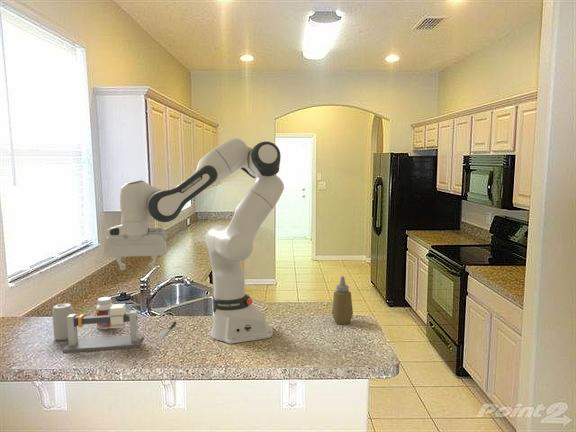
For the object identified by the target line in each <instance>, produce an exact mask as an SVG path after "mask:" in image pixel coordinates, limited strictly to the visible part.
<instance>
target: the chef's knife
mask: <svg viewBox="0 0 576 432" xmlns="http://www.w3.org/2000/svg"><path fill="white" fill-rule="evenodd" d="M176 324H177V322H176V321H173V322H172V323H171V325H170V326H169V327H168V328H164V329H162V331H161V332H160V333H159V335H158V336H157V341H158V342H161V340H163V339H164V337H165V336H167V334H168V333H170V332H171V330H172V329H173V328H174V326H175V325H176Z"/></svg>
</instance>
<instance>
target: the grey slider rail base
mask: <svg viewBox="0 0 576 432" xmlns="http://www.w3.org/2000/svg"><path fill="white" fill-rule="evenodd" d="M123 318H124V322H126V323H127V322H129V331H130V332H129V333H130V335H117V336H116V335H115V336H101V337H87V338H86V337H85V338H78V337H79V336H78V328H82V327H83V326H84V325H97V323H111V320H110V315H103V316H97V315H90V316H85V314H84V313H81V314H78V315H77V313H73V314H70V315H69V316H68V317H67V326H68V340H67V341H68V343H67V344H66V345H65V346H64V348H63V349H62V353H75V352H89V351H90V352H93V351H105V350H108V351H109V350H119V349H121V350H122V349H134V348H139V347H140V345H141V343H142V340H143V338H144V334H139V323H138V322H139V320H138V310H135V309H134V310H130V312H129V313H126V314H124V315H123Z"/></svg>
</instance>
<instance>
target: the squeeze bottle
mask: <svg viewBox="0 0 576 432" xmlns="http://www.w3.org/2000/svg"><path fill="white" fill-rule="evenodd" d="M345 279H346V278H345V276H344V275H343V276H342V275H341V276H340V280H339V284H337V285H336V290H335V291H334V292H333V300H332V310H331V315H332V318H333V319H334V320H333V321H334V323H335V324H337V325H349V324H350V323H351V321H352V318H353V314H354V311H353V301H352V300H353V299H352V293H351V291H350V290H349V288H350V287H349V285H347V283H346V280H345Z"/></svg>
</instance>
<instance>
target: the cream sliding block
mask: <svg viewBox="0 0 576 432" xmlns="http://www.w3.org/2000/svg"><path fill="white" fill-rule="evenodd" d="M112 304H113V305H112V307H111V308H110V320H111V328H110V329H119V328H121V329H122V328H124V327H125V325H126V324H127V322H124V318H123V315H124V314H127V311H126V303H117V304H116V303H115V304H114V303H112Z"/></svg>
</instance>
